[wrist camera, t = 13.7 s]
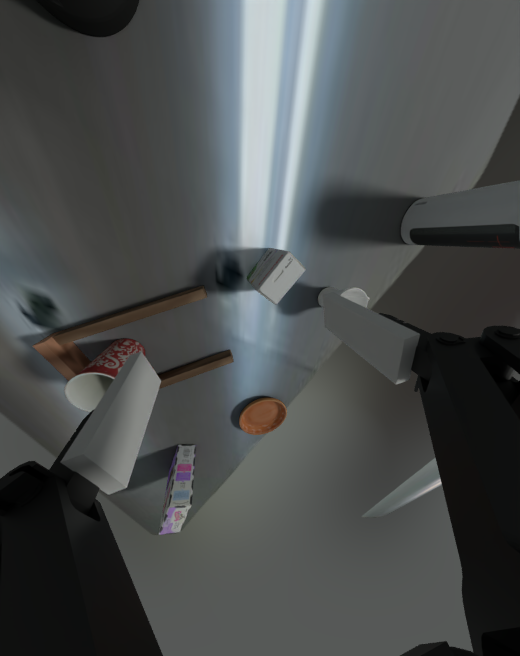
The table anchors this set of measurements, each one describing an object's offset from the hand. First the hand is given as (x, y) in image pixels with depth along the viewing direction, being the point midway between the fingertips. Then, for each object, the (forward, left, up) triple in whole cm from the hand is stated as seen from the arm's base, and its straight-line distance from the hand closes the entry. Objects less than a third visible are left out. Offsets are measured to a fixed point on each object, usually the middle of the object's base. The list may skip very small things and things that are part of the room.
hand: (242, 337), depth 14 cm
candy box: (+54, -33, -32) cm, 71 cm away
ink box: (+3, +10, -32) cm, 33 cm away
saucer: (+48, -3, -32) cm, 57 cm away
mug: (+12, -25, -32) cm, 42 cm away
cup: (+14, +24, -32) cm, 42 cm away
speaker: (+3, +50, -32) cm, 59 cm away
